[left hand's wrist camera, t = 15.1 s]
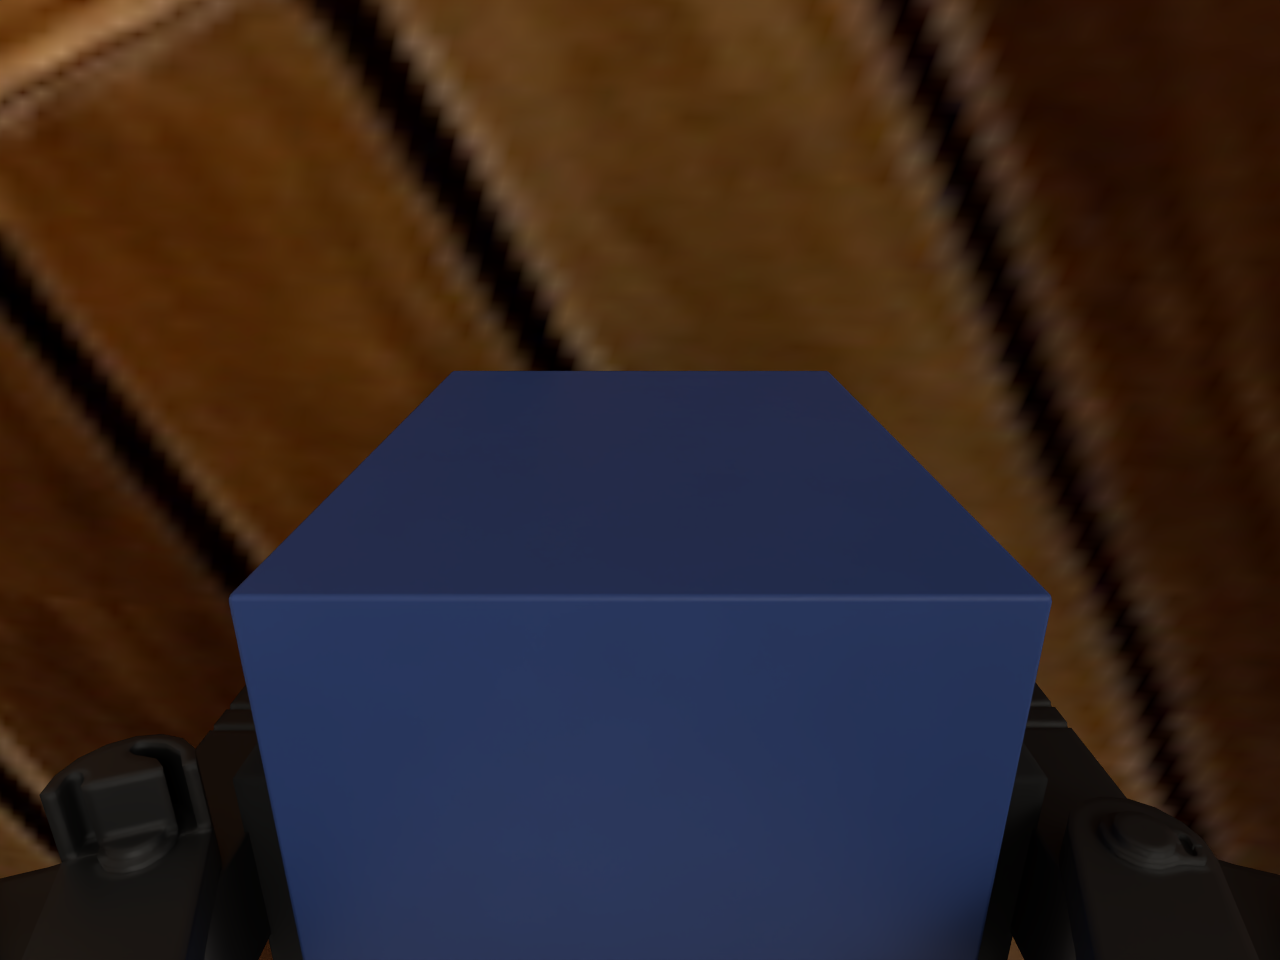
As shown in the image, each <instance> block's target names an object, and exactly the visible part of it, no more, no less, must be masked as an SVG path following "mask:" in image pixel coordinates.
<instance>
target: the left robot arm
mask: <svg viewBox="0 0 1280 960" xmlns="http://www.w3.org/2000/svg"><path fill="white" fill-rule="evenodd" d="M40 798H41V801H42V804H43V807H44V810H45V813H46V816H47V819H48V822H49V825H50V828H51V831H52V834H53V837H54V840H55V843H56V846H57V849H58V852H59V855H60V858H61V861H62V863H61V864H58V865H54V866H51V867H48V868H43V869H39V870H35V871H31V872H26V873H22V874H18V875H14V876H9V877H5V878H1V879H0V960H258V959H259V957H260V955H261V953H262V951H263V949H264V947H265V945H266V943H267V941H268V939H269V943H270V948H271V952H272V956H273V960H303V957H302V952H301V947H300V942H299V938H298V933H297V928H296V923H295V918H294V913H293V909H292V904H291V899H290V894H289V889H288V884H287V880H286V875H285V870H284V865H283V860H282V856H281V851H280V846H279V841H278V836H277V831H276V827H275V822H274V817H273V812H272V807H271V802H270V798H269V793H268V788H267V783H266V778H265V773H264V769H263V764H262V759H261V754H260V749H259V744H258V740H257V735H256V730H255V725H254V720H253V715H252V711H251V706H250V701H249V696H248V691H247V686H246V685H245V687H244V688H243V689H242V690H241V692H240V693H239V694H238V696H237V697H236V698H235V699H234V701H233V702H232V703H231V704H230V710H226V711H225V712H224V713H223V715H222V716H221V717H220V718H219V720H218V721H217V722H216V724H215V725H214V730H213V731H209V732H208V734H207V735H206V736H205V738H204V739H203V740H202V741H201V743H200V744H199V745H198V746H197V748H196V749H195V748H194V747H193V746H192V745H190V744H189V743H188V742H187V741H186V740H184V739H183V738H179V737H174V736H169V735H164V734H158V735H147V736H136V737H132V738H129V739H125V740H122V741H118V742H115V743H111V744H108V745H105V746H103V747H101V748H99V749H97V750H95V751H93V752H91V753H88V754H86V755H84V756H82V757H80V758H78V759H77V760H75V761H74V762H73V763H71V764H70V765H69V766H67V767H66V768H65V769H63V770H62V771H60V772H59V773H58V774H56V775H55V776H54V777H53V778H52V780H51V781H50V782H49V784H48V785H47V786H46V787H45V789H44V790H43V791H42V792H41V794H40ZM1012 937H1013V938H1014V940H1015V942H1016V944H1017V946H1018V948H1019V950H1020V952H1021V954H1022V956H1023V958H1024V960H1280V875H1277V874H1273V873H1269V872H1264V871H1260V870H1256V869H1252V868H1247V867H1243V866H1239V865H1234V864H1231V863H1228V862H1224V861H1221V860H1218V859H1216V857H1215V856H1214V854H1213V853H1212V851H1211V850H1210V848H1209V847H1208V845H1207V844H1206V842H1205V841H1204V840H1203V839H1202V838H1200V837H1199V836H1198V835H1197V834H1196V833H1195V832H1193V831H1192V830H1191V829H1190V828H1189V827H1187V826H1186V825H1185V824H1184V823H1183V822H1181V821H1179V820H1177V819H1175V818H1174V817H1172V816H1170V815H1168V814H1166V813H1164V812H1163V811H1161V810H1159V809H1157V808H1155V807H1152V806H1149V805H1146V804H1143V803H1140V802H1136V801H1133V800H1130V799H1127V798H1126V797H1125V795H1124V794H1123V793H1122V792H1121V790H1120V789H1119V788H1118V786H1117V785H1116V784H1115V783H1114V781H1113V780H1112V779H1111V778H1110V776H1109V775H1108V774H1107V773H1106V771H1105V770H1104V769H1103V767H1102V766H1101V765H1100V764H1099V762H1098V761H1097V760H1096V759H1095V757H1094V756H1093V755H1092V754H1091V752H1090V751H1089V750H1088V749H1087V747H1086V746H1085V745H1084V743H1083V742H1082V741H1081V740H1080V738H1079V737H1078V736H1077V735H1076V733H1075V732H1074V731H1073V730H1072V728H1068V727H1067V722H1066V721H1065V719H1064V718H1063V717H1062V716H1061V714H1060V713H1059V712H1058V711H1057V709H1056V708H1055V707H1051V702H1050V700H1049V699H1048V698H1047V697H1046V695H1045V694H1044V693H1043V692H1042V690H1041V689H1040V688H1039V686H1038V685H1037V684H1036V683H1035V685H1034V690H1033V694H1032V699H1031V704H1030V709H1029V714H1028V718H1027V723H1026V728H1025V733H1024V738H1023V743H1022V747H1021V752H1020V757H1019V762H1018V767H1017V771H1016V776H1015V781H1014V786H1013V791H1012V796H1011V800H1010V805H1009V810H1008V815H1007V820H1006V825H1005V829H1004V834H1003V839H1002V844H1001V849H1000V853H999V858H998V863H997V868H996V873H995V878H994V882H993V887H992V892H991V897H990V902H989V906H988V911H987V916H986V921H985V926H984V931H983V935H982V940H981V945H980V950H979V955H978V959H977V960H1007V959H1008V954H1009V950H1010V945H1011V941H1012Z"/></svg>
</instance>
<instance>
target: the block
mask: <svg viewBox="0 0 1280 960" xmlns="http://www.w3.org/2000/svg"><path fill="white" fill-rule="evenodd" d="M1051 603H1052V600H1051V596H1050V594H1049V593H1048V592H1047V591H1046V590H1045V589H1044V588H1043V587H1042V586H1041V585H1040V584H1039V583H1038V582H1037V581H1036V580H1035V579H1034V578H1033V577H1032V576H1031V575H1030V574H1029V573H1028V572H1027V571H1026V570H1025V569H1024V568H1023V567H1022V566H1021V565H1020V564H1019V563H1018V562H1017V561H1016V560H1015V559H1014V558H1013V557H1012V556H1011V555H1010V554H1009V553H1008V552H1007V551H1006V550H1005V549H1004V548H1003V547H1002V546H1001V545H1000V544H999V543H998V542H997V541H996V540H995V539H994V538H993V537H992V536H991V535H990V534H989V533H988V532H987V531H986V530H985V529H984V528H983V527H982V526H981V525H980V524H979V523H978V522H977V521H976V520H975V519H974V518H973V517H972V516H971V515H970V514H969V513H968V512H967V511H966V510H965V509H964V508H963V507H962V506H961V505H960V504H959V503H958V502H957V501H956V500H955V499H954V498H953V497H952V496H951V495H950V494H949V493H948V492H947V491H946V490H945V489H944V488H943V487H942V486H941V485H940V484H939V483H938V482H937V481H936V480H935V479H934V478H933V477H932V476H931V475H930V474H929V473H928V472H927V471H926V470H925V469H924V467H923V466H922V465H921V464H920V463H919V462H918V461H917V460H916V459H915V458H914V457H913V456H912V455H911V454H910V453H909V452H908V451H907V450H906V449H905V448H904V447H903V446H902V445H901V444H900V443H899V442H898V441H897V440H896V439H895V438H894V437H893V436H892V435H891V434H890V433H889V432H888V431H887V430H886V429H885V428H884V427H883V426H882V425H881V424H880V423H879V422H878V421H877V420H876V419H875V418H874V417H873V416H872V415H871V414H870V413H869V412H868V411H867V410H866V409H865V408H864V407H863V406H862V405H861V404H860V403H859V402H858V401H857V400H856V399H855V398H854V397H853V396H852V395H851V394H850V393H849V392H848V391H847V390H846V389H845V388H844V387H843V386H842V385H841V384H840V383H839V382H838V381H837V380H836V379H835V378H834V377H833V376H832V375H831V374H830V373H829V372H827V371H453V372H452V373H451V374H450V375H449V376H448V377H447V378H446V379H445V380H444V381H443V382H442V383H441V384H440V385H439V386H438V387H437V388H436V389H435V390H434V391H433V392H432V393H431V394H430V395H429V396H428V397H427V398H426V399H425V400H424V401H423V402H422V403H421V404H420V405H419V406H418V407H417V408H416V409H415V410H414V411H413V412H412V413H411V414H410V415H409V416H408V417H407V418H406V419H405V420H404V421H403V422H402V423H401V424H400V425H399V426H398V427H397V428H396V429H395V430H394V431H393V432H392V433H391V434H390V435H389V436H388V437H387V438H386V439H385V440H384V441H383V442H382V443H381V444H380V445H379V446H378V447H377V448H376V449H375V450H374V451H373V452H372V453H371V454H370V455H369V456H368V457H367V458H366V459H365V460H364V461H363V462H362V463H361V464H360V465H359V466H358V467H357V468H356V469H355V470H354V471H353V472H352V473H351V474H350V475H349V476H348V477H347V478H346V479H345V480H344V481H343V482H342V483H341V484H340V485H339V486H338V487H337V488H336V489H335V490H334V491H333V492H332V493H331V494H330V495H329V496H328V497H327V498H326V499H325V500H324V501H323V502H322V503H321V504H320V505H319V506H318V507H317V508H316V509H315V510H314V511H313V512H312V513H311V514H310V515H309V516H308V517H307V518H306V519H305V520H304V521H303V522H302V523H301V524H300V525H299V526H298V527H297V528H296V529H295V530H294V531H293V532H292V533H291V534H290V535H289V536H288V537H287V538H286V539H285V540H284V541H283V542H282V543H281V544H280V545H279V546H278V547H277V548H276V549H275V550H274V551H273V552H272V553H271V554H270V555H269V556H268V557H267V558H266V559H265V560H264V561H263V562H262V563H261V564H260V565H259V566H258V567H257V568H256V569H255V570H254V571H253V572H252V573H251V574H250V575H249V576H248V577H247V578H246V579H245V580H244V581H243V582H242V583H241V584H240V585H239V586H238V588H237V589H236V590H235V591H234V592H233V593H232V594H231V595H230V597H229V604H230V609H231V614H232V619H233V624H234V628H235V633H236V638H237V643H238V648H239V653H240V657H241V662H242V667H243V672H244V677H245V682H246V686H247V691H248V696H249V701H250V706H251V711H252V715H253V720H254V725H255V730H256V735H257V740H258V744H259V749H260V754H261V759H262V764H263V769H264V773H265V778H266V783H267V788H268V793H269V798H270V802H271V807H272V812H273V817H274V822H275V827H276V831H277V836H278V841H279V846H280V851H281V856H282V860H283V865H284V870H285V875H286V880H287V884H288V889H289V894H290V899H291V904H292V909H293V913H294V918H295V923H296V928H297V933H298V938H299V942H300V947H301V952H302V957H303V960H977V959H978V955H979V950H980V945H981V940H982V935H983V931H984V926H985V921H986V916H987V911H988V906H989V902H990V897H991V892H992V887H993V882H994V878H995V873H996V868H997V863H998V858H999V853H1000V849H1001V844H1002V839H1003V834H1004V829H1005V825H1006V820H1007V815H1008V810H1009V805H1010V800H1011V796H1012V791H1013V786H1014V781H1015V776H1016V771H1017V767H1018V762H1019V757H1020V752H1021V747H1022V743H1023V738H1024V733H1025V728H1026V723H1027V718H1028V714H1029V709H1030V704H1031V699H1032V694H1033V690H1034V685H1035V680H1036V675H1037V670H1038V665H1039V661H1040V656H1041V651H1042V646H1043V641H1044V636H1045V632H1046V627H1047V622H1048V617H1049V612H1050V608H1051Z"/></svg>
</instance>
